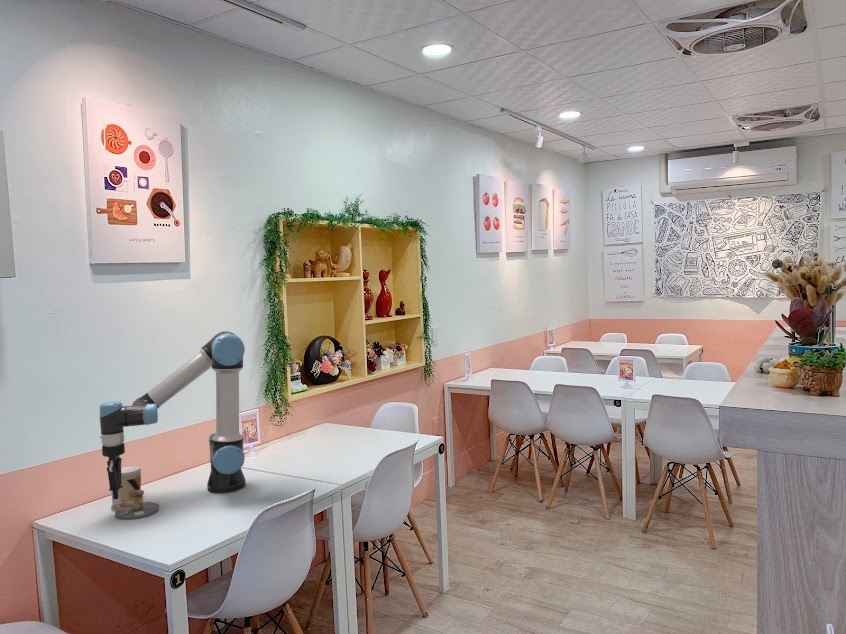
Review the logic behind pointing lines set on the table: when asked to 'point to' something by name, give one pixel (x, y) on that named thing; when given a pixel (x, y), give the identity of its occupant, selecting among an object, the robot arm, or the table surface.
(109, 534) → the table surface
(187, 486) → the table surface
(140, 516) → the plate
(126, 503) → the peg dial
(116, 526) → the table surface
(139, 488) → the coffee cup
